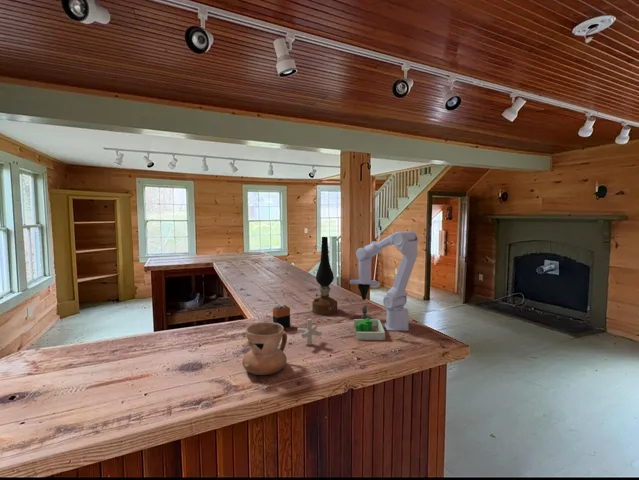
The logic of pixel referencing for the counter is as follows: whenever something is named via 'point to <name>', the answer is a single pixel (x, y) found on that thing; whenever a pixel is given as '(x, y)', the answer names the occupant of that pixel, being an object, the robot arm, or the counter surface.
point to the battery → (282, 315)
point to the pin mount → (365, 316)
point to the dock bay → (370, 335)
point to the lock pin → (364, 310)
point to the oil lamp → (324, 284)
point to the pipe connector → (309, 331)
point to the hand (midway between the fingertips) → (364, 299)
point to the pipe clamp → (364, 326)
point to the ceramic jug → (265, 348)
